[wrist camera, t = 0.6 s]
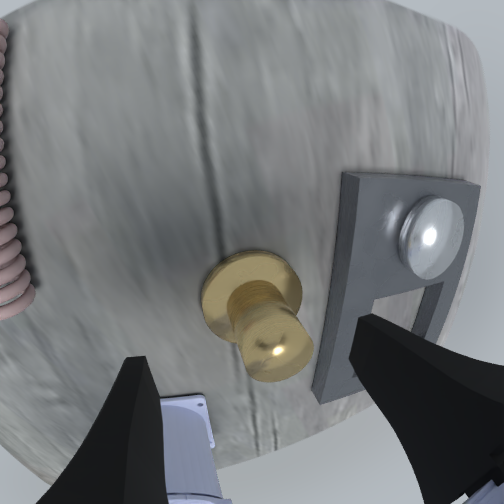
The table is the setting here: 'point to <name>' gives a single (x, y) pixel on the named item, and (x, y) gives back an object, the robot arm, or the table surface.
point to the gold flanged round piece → (258, 313)
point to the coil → (10, 231)
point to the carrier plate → (392, 260)
